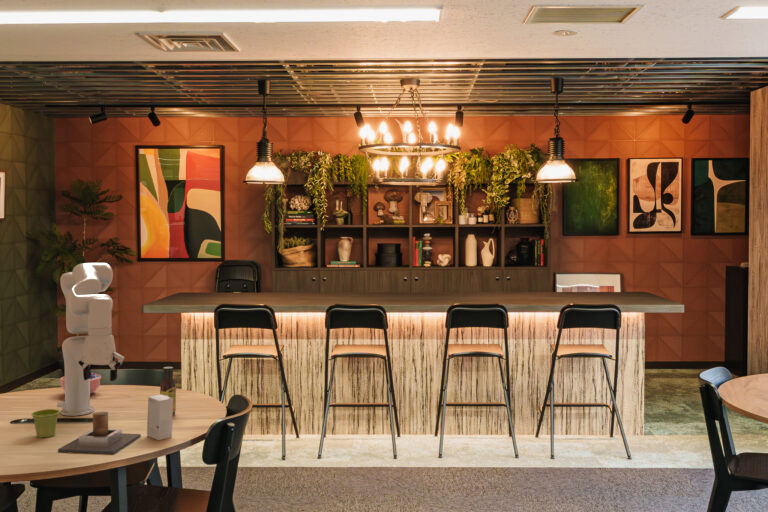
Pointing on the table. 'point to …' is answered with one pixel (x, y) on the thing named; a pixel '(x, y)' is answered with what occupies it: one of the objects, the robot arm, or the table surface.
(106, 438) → the socket
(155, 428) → the skincare box
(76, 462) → the table surface
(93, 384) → the cell model
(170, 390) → the sauce bottle
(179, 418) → the table surface
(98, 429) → the peg
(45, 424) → the plant pot
